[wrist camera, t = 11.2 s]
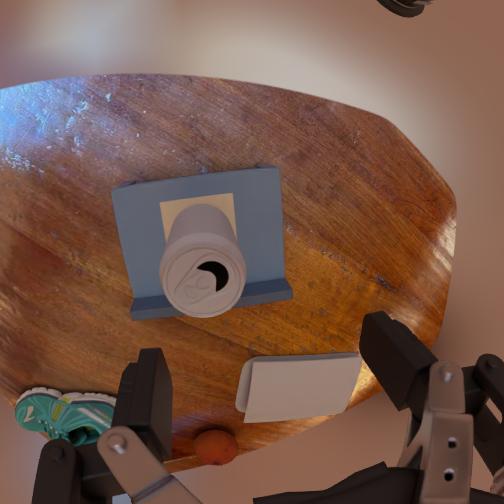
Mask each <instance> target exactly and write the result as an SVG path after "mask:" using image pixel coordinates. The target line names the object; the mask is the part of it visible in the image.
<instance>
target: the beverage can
mask: <svg viewBox="0 0 504 504" xmlns="http://www.w3.org/2000/svg"><path fill="white" fill-rule="evenodd" d="M159 278H160V283H161V286H162V288H163V290H164V293H165V295H166V297H167V299H168V300H169V302H170V303H171V304H172V305H173V306H174V307H175V308H176V309H178V310H179V311H181V312H182V313H184V314H187V315H190V316H193V317H200V318H207V317H213V316H217V315H220V314H222V313H224V312H226V311H227V310H229V309H230V308H231V307H233V306H234V305H235V303H236V302H237V301H238V299H239V298H240V296H241V294H242V291H243V288H244V286H245V283H246V278H247V269H246V263H245V260H244V257H243V255H242V252H241V249H240V247H239V244H238V242H237V239H236V236H235V234H234V231H233V228H232V226H231V223H230V221H229V219H228V217H227V216H226V215H225V214H224V213H223V212H222V211H221V210H220V209H218V208H216V207H214V206H211V205H207V204H197V205H192V206H190V207H187V208H186V209H184V210H183V211H181V212H180V213H179V214H178V216H177V217H176V218H175V220H174V222H173V224H172V227H171V230H170V234H169V237H168V240H167V243H166V246H165V249H164V253H163V256H162V259H161V263H160V267H159Z"/></svg>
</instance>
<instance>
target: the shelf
mask: <svg viewBox="0 0 504 504" xmlns="http://www.w3.org/2000/svg"><path fill="white" fill-rule="evenodd" d="M110 191H111V197H112V203H113V208H114V214H115V219H116V224H117V229H118V234H119V239H120V243H121V248H122V252H123V256H124V260H125V264H126V269H127V272H128V276H129V280H130V284H131V288H132V291H133V295H134V298H135V299H134V301H133V304H132V307H131V310H130V314H131V317H132V320H133V321H135V320H145V319H154V318H163V317H172V316H180V315H187V314H184V313H182V312H181V311H179V310H178V309H176V308H175V307H174V306H173V305H172V304H171V303H170V302H169V300H168V299H167V297H166V295H165V293H164V290H163V288H162V286H161V283H160V278H159V267H160V263H161V259H162V256H163V253H164V249H165V246H166V243H167V240H168V237H169V234H170V230H171V227H172V224H173V222H174V220H175V218H176V217H177V216H178V214H179V213H180V212H181V211H183V210H184V209H186V208H187V207H190V206H192V205H197V204H207V205H211V206H214V207H216V208H218V209H220V210H221V211H222V212H223V213H224V214H225V215H226V216H227V217H228V219H229V221H230V223H231V226H232V228H233V231H234V234H235V236H236V239H237V242H238V244H239V247H240V249H241V252H242V255H243V257H244V260H245V263H246V269H247V278H246V283H245V286H244V288H243V291H242V294H241V296H240V298H239V299H238V301H237V302H236V303H235V305H234V306H233V307H231V308H230V309H232V308H238V307H245V306H252V305H258V304H264V303H270V302H276V301H282V300H288V299H293V290H292V288H291V286H290V285H289V283H288V282H287V280H286V279H285V262H284V237H283V215H282V196H281V179H280V168H279V167H276V166H272V165H269V164H260V165H256V168H252V169H242V170H232V171H222V172H214V173H206V174H198V175H190V176H183V177H176V178H169V179H163V180H156V181H150V182H144V183H138V184H135V181H131V182H125V183H123V184H121V185H119V186H117V187H115V188H113V189H112V190H110Z"/></svg>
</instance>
